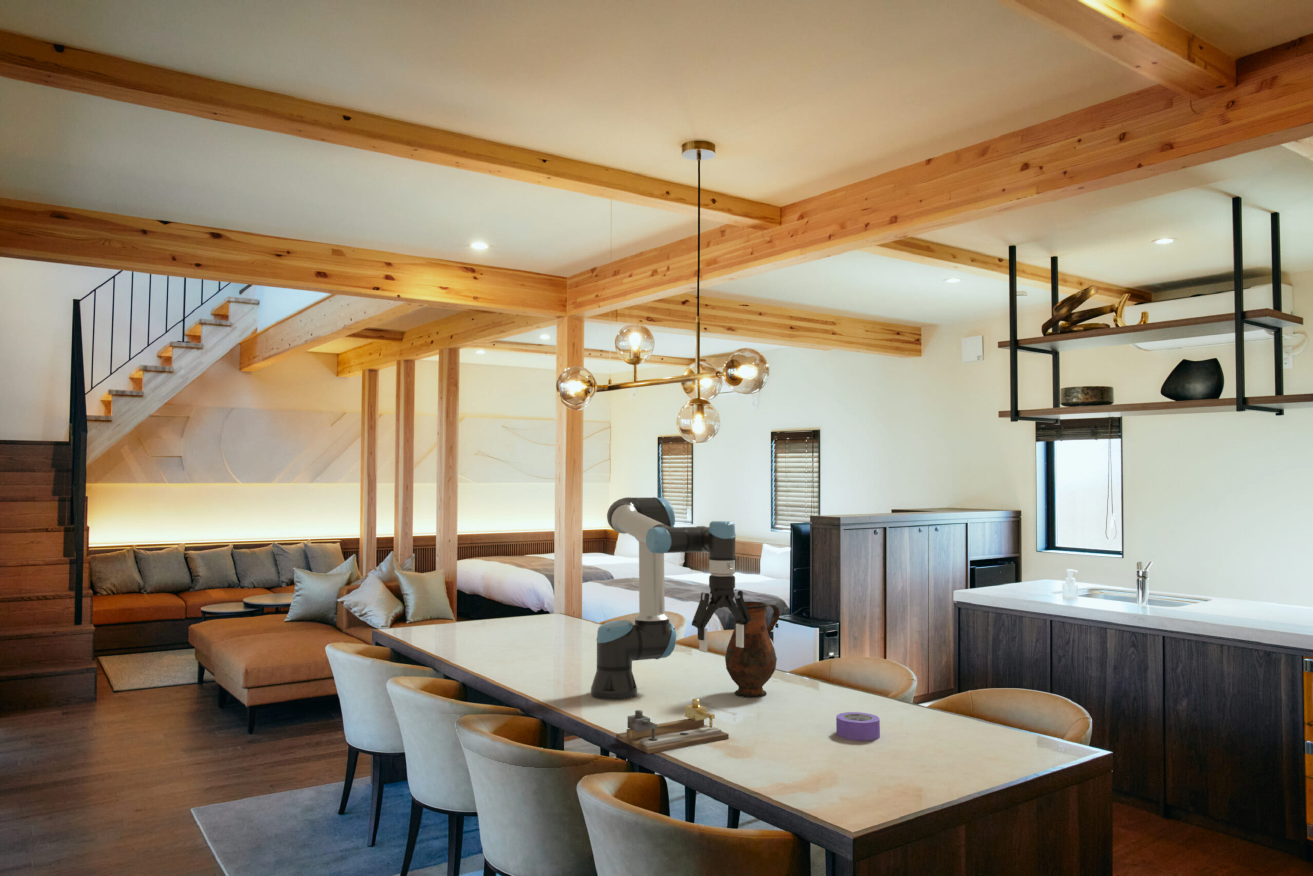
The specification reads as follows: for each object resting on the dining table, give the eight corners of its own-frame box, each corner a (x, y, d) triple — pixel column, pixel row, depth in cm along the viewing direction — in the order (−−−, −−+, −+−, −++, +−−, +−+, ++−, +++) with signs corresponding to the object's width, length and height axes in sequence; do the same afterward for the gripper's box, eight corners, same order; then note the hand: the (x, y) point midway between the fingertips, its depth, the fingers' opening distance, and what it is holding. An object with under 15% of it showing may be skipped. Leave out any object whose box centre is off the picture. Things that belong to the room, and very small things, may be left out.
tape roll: (827, 731, 238) (827, 713, 239) (862, 727, 243) (862, 710, 243) (853, 743, 228) (853, 724, 228) (888, 739, 232) (888, 720, 233)
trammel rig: (616, 738, 229) (616, 709, 230) (693, 724, 244) (693, 697, 244) (648, 754, 216) (648, 722, 217) (728, 738, 230) (728, 709, 231)
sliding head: (684, 720, 239) (684, 698, 239) (696, 718, 241) (696, 696, 242) (707, 729, 230) (707, 706, 231) (718, 727, 233) (719, 704, 233)
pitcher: (714, 693, 283) (715, 602, 284) (760, 684, 295) (760, 597, 297) (749, 703, 269) (749, 607, 271) (795, 694, 282) (795, 603, 284)
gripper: (695, 578, 235) (695, 655, 234) (763, 573, 249) (763, 647, 248) (679, 575, 241) (679, 651, 240) (746, 571, 256) (746, 643, 254)
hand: (721, 649), depth 244 cm, fingers open, 13 cm apart
